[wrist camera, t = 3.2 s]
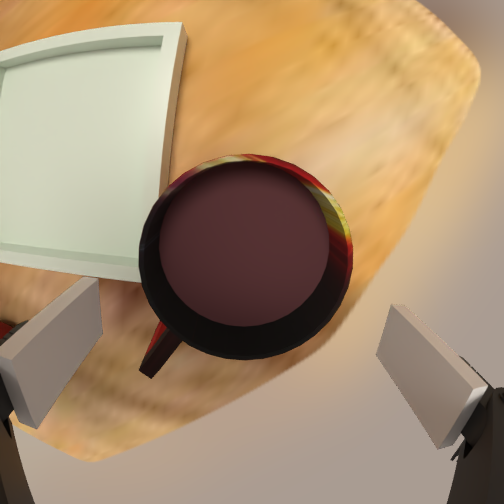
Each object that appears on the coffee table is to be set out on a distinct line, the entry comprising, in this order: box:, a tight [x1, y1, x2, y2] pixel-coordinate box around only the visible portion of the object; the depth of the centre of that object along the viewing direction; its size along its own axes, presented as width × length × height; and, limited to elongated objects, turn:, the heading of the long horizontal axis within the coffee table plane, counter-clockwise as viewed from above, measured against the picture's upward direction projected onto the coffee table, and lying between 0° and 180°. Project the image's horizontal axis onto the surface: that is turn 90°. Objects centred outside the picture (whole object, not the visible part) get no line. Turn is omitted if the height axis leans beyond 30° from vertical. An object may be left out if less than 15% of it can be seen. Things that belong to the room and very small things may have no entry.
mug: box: [138, 154, 353, 379], centre depth 20 cm, size 10×14×12 cm
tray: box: [0, 22, 188, 283], centre depth 21 cm, size 20×20×3 cm
